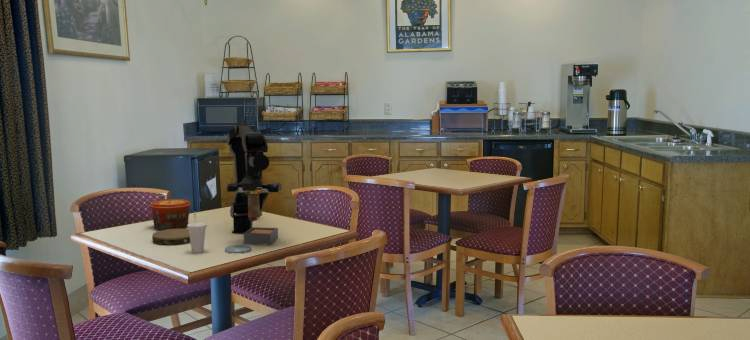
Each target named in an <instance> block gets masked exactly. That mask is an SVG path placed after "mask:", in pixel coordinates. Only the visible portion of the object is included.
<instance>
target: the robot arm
mask: <svg viewBox="0 0 750 340" xmlns="http://www.w3.org/2000/svg"><path fill="white" fill-rule="evenodd" d="M226 144H227V146H228V150H229V152H230V153H231V155H232V156H233V166H234V180H235V181H231V182H230V183H228V184H227V186H226V192H234V193H235V194H234V195H233V198H232V202H231V205H230V209H229V214H230V217H231V218H232V219H233V220H232V221H233V223H232V224H233V230H232V231H231V233H233V234H244V233H245V232H246V231H248V230H249V229H251V228H252V227H253V221H252V220H251V217H248V195H250V194H251V191H255V190H256V191H258V190H260V192H259V194H260V211H262V212H263V208H264V206H265V202H266V200H267V197H268V196H269V194H271V193H280V192H281V191H283V189H282V184H281V182H269V183H267V184H264V181H263V173H264V171H265V170H267V169H268V168H269V166H270V160H269V158H268V156H267V155H265V154H264V153H268V149H269V146H268V143H267V139H266V137H265V136H264V134H263V133H262V132H257V131H256V132H255V131H254V130H253V129H252V128H251V127H250V125H249V124H247V123H237V124H234V127H233V128H232V129H230V130H229V131H228V133H227V135H226ZM256 191H255V192H256Z"/></svg>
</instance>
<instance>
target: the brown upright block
mask: <svg viewBox="0 0 750 340" xmlns="http://www.w3.org/2000/svg"><path fill="white" fill-rule="evenodd" d="M262 216H263V210H262V211H260V193H259V194H252V193H250V195H248V217H257V218H261V217H262Z"/></svg>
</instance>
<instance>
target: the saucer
mask: <svg viewBox="0 0 750 340" xmlns="http://www.w3.org/2000/svg"><path fill="white" fill-rule="evenodd" d="M249 251H250V252H251V251H252V246H251V245H249V244H234V245H230V246H226V247H225V248H224V252H225V253H226V252H228V253H227V254H231V253H241V254H246V253H245V252H247V253H249Z"/></svg>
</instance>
